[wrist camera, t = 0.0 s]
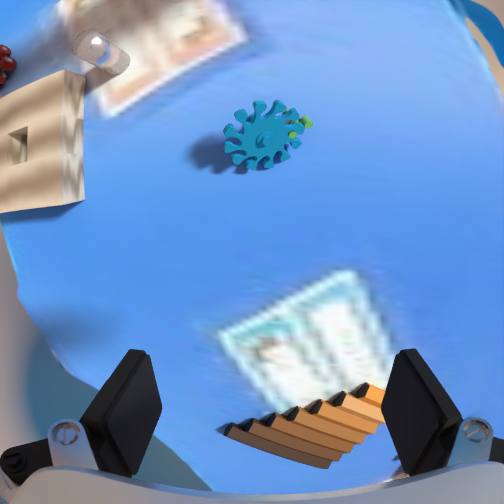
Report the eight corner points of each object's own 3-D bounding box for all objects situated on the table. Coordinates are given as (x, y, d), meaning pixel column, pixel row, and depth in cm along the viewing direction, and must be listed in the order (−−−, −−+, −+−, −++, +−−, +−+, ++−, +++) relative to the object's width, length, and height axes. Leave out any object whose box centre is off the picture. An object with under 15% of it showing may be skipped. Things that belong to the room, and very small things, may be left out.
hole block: (9, 107, 36) (-12, 105, 30) (86, 77, 35) (65, 68, 29) (9, 209, 41) (-13, 214, 35) (84, 199, 40) (62, 204, 34)
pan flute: (224, 427, 52) (320, 461, 54) (222, 440, 48) (322, 472, 51) (301, 344, 45) (400, 394, 48) (303, 356, 42) (405, 405, 45)
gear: (233, 181, 37) (215, 118, 29) (224, 154, 40) (207, 94, 32) (314, 160, 37) (314, 95, 29) (298, 135, 40) (295, 75, 32)
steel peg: (108, 55, 34) (74, 34, 24) (131, 49, 34) (99, 25, 24) (106, 77, 35) (70, 60, 25) (129, 72, 35) (95, 51, 25)
